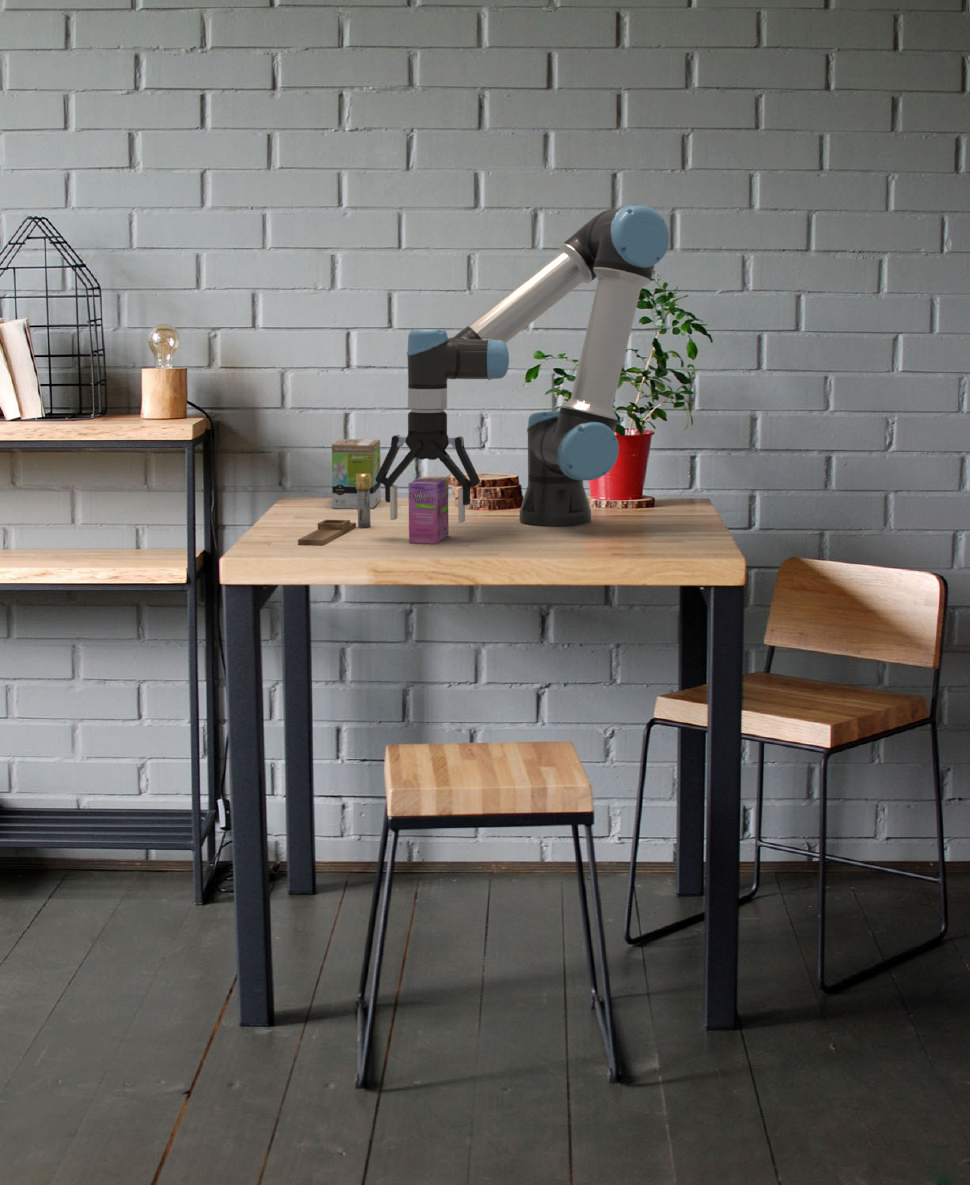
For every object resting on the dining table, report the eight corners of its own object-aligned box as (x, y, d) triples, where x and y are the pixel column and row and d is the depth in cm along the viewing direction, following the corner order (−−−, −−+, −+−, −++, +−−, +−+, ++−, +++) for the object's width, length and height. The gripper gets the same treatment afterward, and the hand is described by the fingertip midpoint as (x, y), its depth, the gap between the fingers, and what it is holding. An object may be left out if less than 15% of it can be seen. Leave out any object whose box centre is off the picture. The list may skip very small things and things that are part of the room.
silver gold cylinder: (373, 525, 276) (372, 473, 274) (369, 528, 273) (368, 475, 271) (359, 525, 276) (358, 473, 274) (355, 527, 273) (353, 474, 271)
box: (437, 544, 253) (436, 483, 251) (408, 543, 255) (407, 482, 252) (449, 535, 263) (449, 476, 261) (421, 534, 264) (420, 476, 262)
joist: (356, 527, 274) (356, 516, 273) (323, 545, 253) (323, 534, 252) (332, 526, 275) (332, 516, 274) (297, 544, 254) (297, 533, 253)
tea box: (375, 509, 300) (374, 443, 297) (331, 509, 300) (329, 444, 297) (381, 500, 315) (380, 437, 312) (339, 500, 315) (337, 437, 312)
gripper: (495, 410, 255) (494, 519, 259) (370, 408, 260) (371, 515, 264) (487, 413, 248) (486, 525, 252) (359, 410, 252) (360, 520, 257)
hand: (427, 520), depth 258 cm, fingers open, 13 cm apart
